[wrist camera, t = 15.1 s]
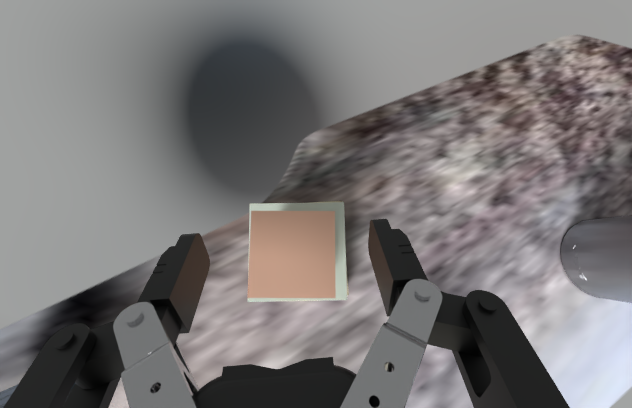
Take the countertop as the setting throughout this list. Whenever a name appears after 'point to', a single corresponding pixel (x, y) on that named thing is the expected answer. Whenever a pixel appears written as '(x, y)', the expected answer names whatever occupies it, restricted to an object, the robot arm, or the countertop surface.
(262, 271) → the square block
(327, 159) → the countertop surface
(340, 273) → the tower top
